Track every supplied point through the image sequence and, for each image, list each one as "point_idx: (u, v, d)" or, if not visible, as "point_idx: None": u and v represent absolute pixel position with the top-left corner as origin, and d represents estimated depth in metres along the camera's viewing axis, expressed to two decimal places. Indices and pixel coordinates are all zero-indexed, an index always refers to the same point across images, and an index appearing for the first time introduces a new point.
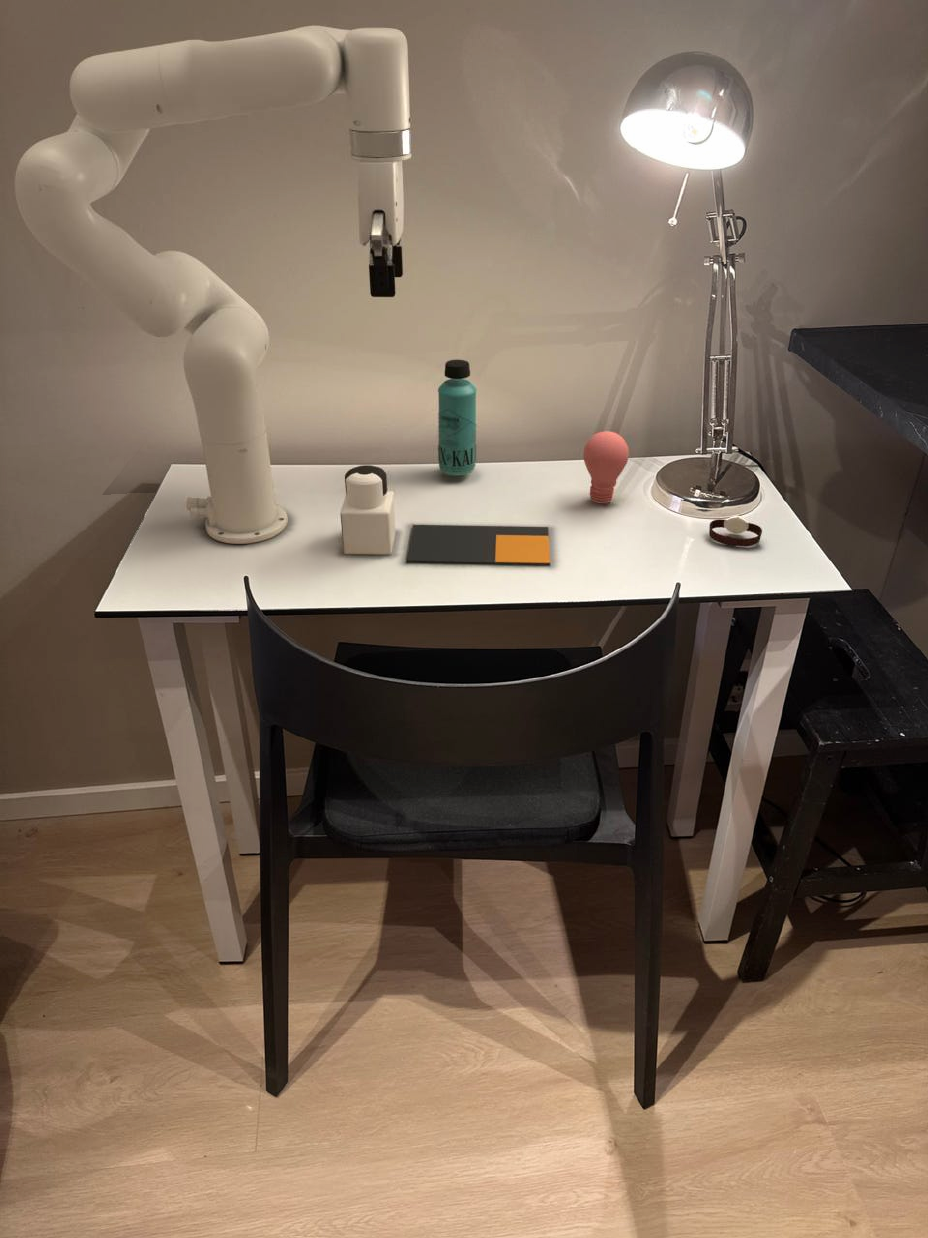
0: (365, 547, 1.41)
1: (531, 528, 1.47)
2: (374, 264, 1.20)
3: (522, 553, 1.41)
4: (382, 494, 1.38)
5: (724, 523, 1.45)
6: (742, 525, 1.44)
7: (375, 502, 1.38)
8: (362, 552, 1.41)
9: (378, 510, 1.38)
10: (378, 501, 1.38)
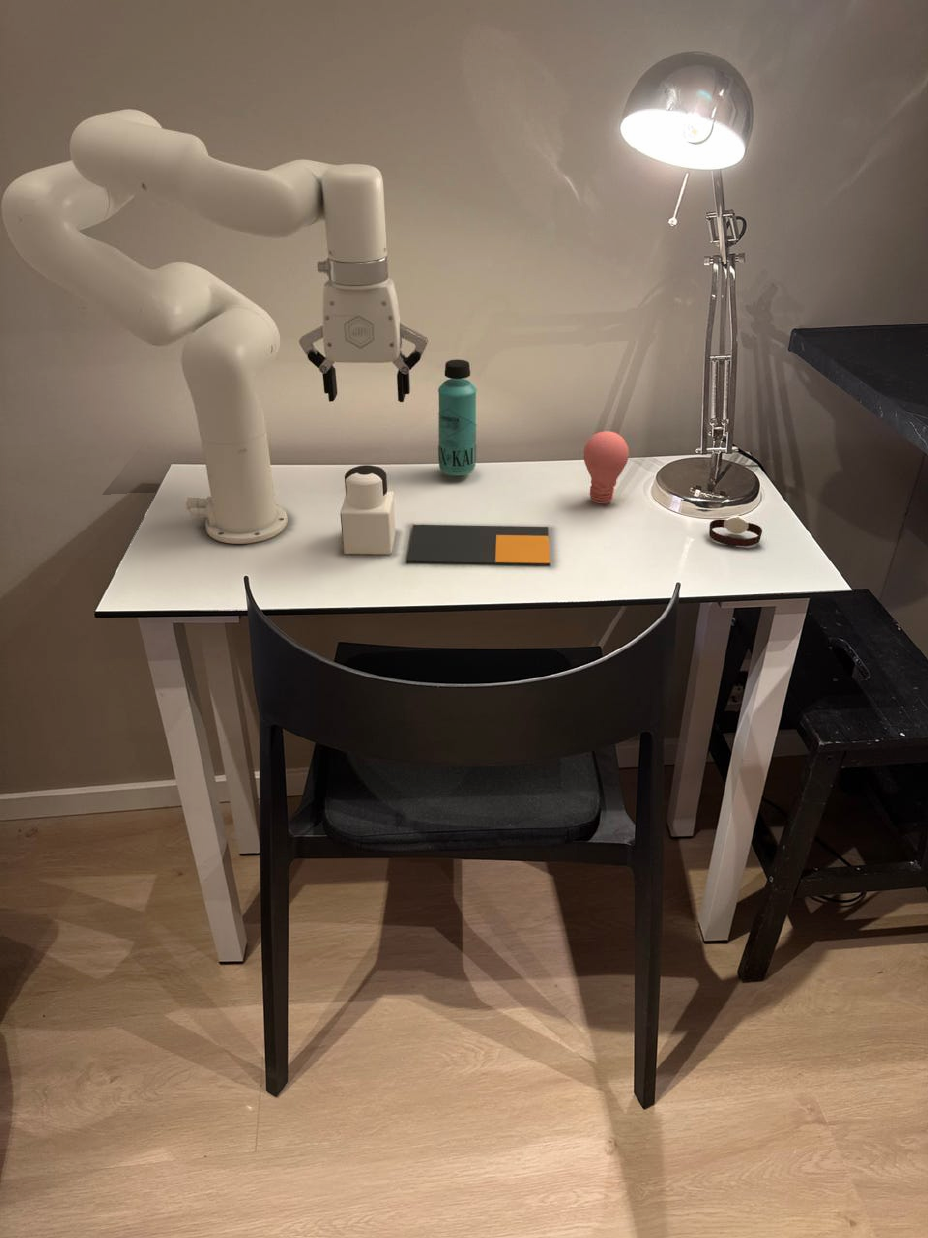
0: (365, 547, 1.41)
1: (531, 528, 1.47)
2: (409, 370, 1.29)
3: (522, 553, 1.41)
4: (382, 494, 1.38)
5: (724, 523, 1.45)
6: (742, 525, 1.44)
7: (375, 502, 1.38)
8: (362, 552, 1.41)
9: (378, 510, 1.38)
10: (378, 501, 1.38)
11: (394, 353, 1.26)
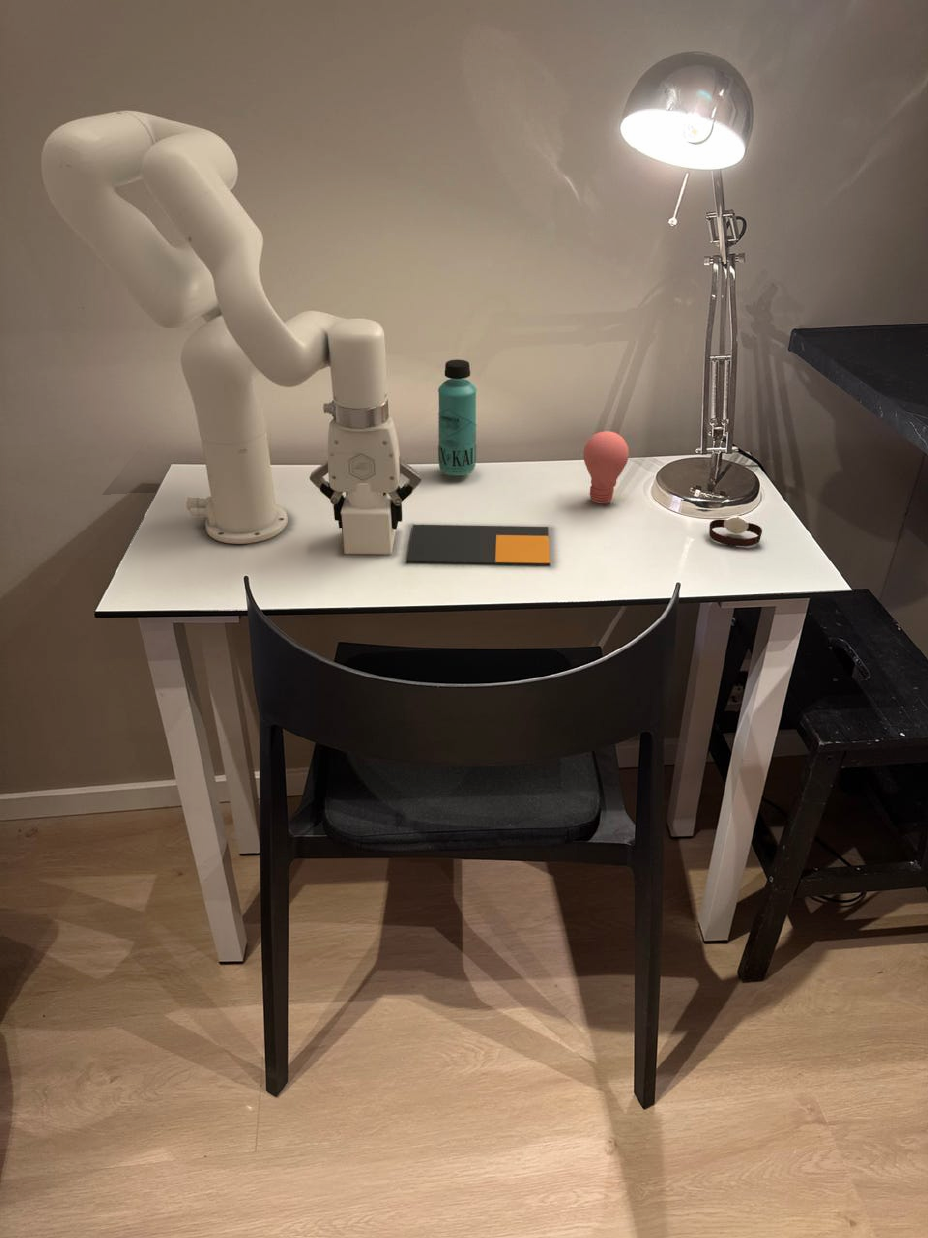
0: (366, 547, 1.41)
1: (531, 528, 1.47)
2: (402, 501, 1.39)
3: (522, 553, 1.41)
4: (382, 493, 1.38)
5: (724, 523, 1.45)
6: (742, 525, 1.44)
7: (375, 502, 1.38)
8: (362, 552, 1.41)
9: (379, 510, 1.38)
10: (378, 501, 1.38)
11: (394, 485, 1.36)
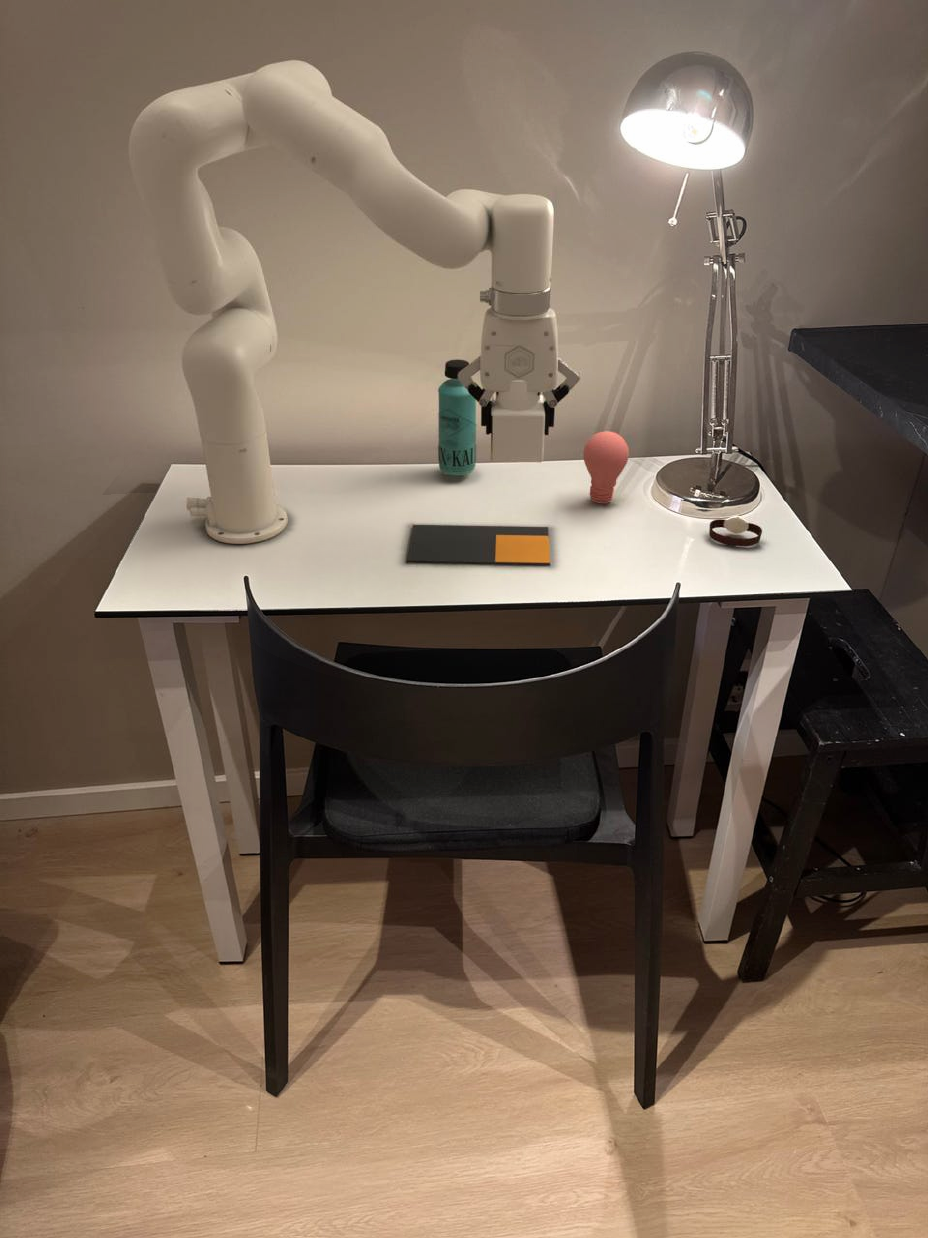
0: (516, 453, 1.30)
1: (531, 528, 1.47)
2: None
3: (522, 553, 1.41)
4: (537, 393, 1.27)
5: (724, 523, 1.45)
6: (742, 525, 1.44)
7: (530, 402, 1.27)
8: (511, 459, 1.30)
9: (533, 412, 1.27)
10: (533, 401, 1.27)
11: (552, 383, 1.25)
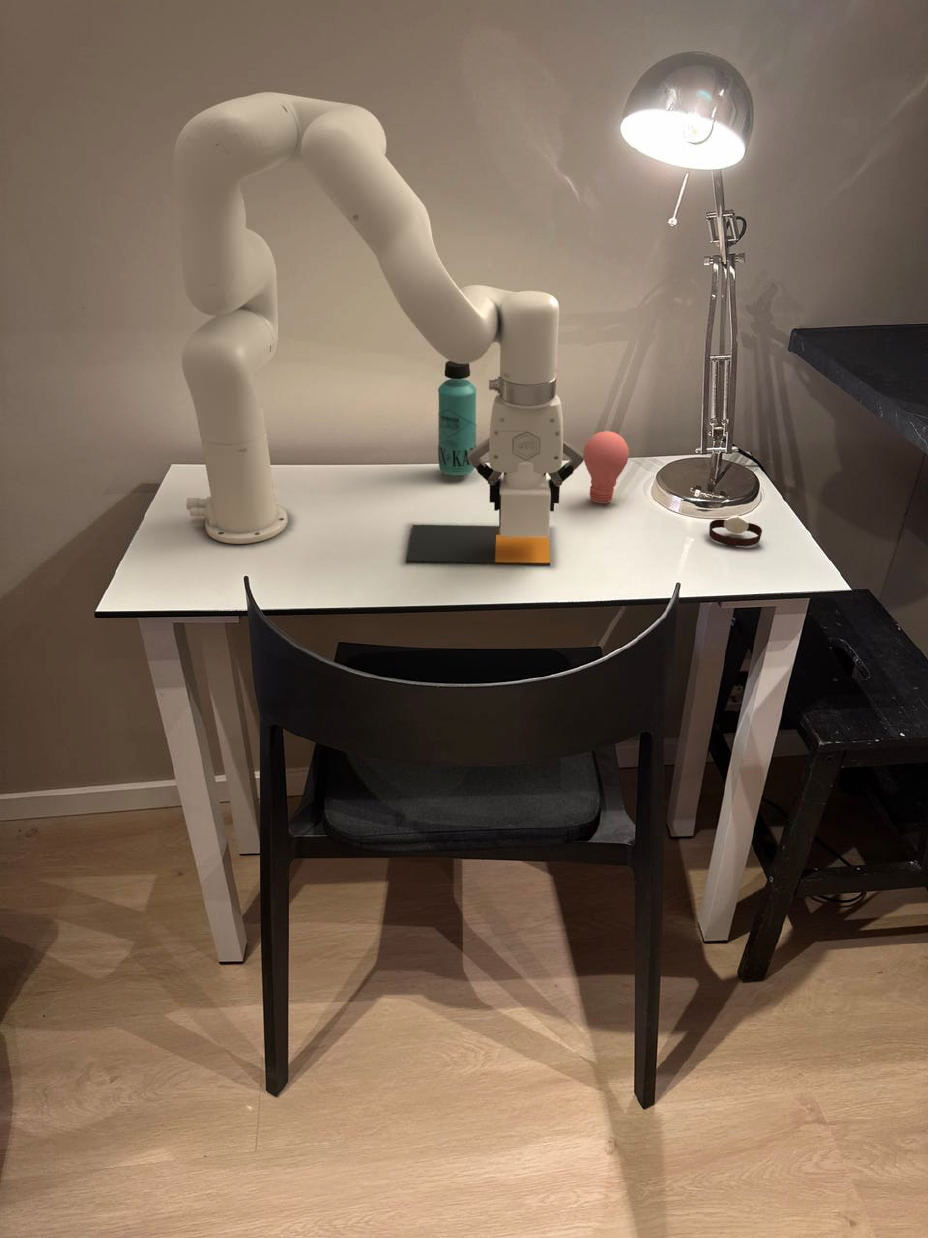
0: (523, 529, 1.36)
1: None
2: None
3: (522, 553, 1.41)
4: (543, 474, 1.33)
5: (724, 523, 1.45)
6: (742, 525, 1.44)
7: (536, 482, 1.33)
8: (518, 535, 1.37)
9: (539, 491, 1.33)
10: (539, 481, 1.33)
11: (557, 465, 1.31)
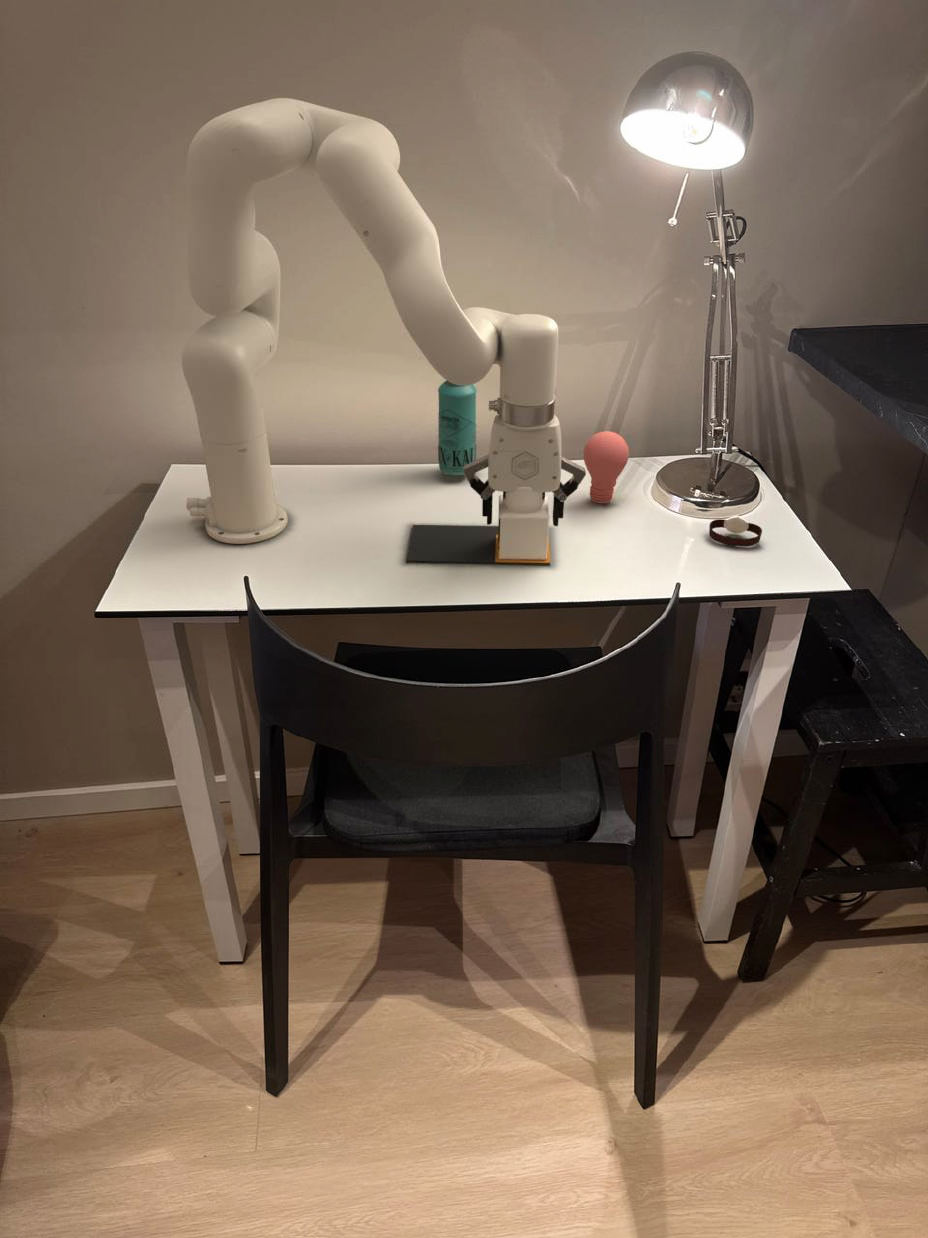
0: (521, 552, 1.38)
1: None
2: None
3: None
4: (541, 498, 1.35)
5: (724, 523, 1.45)
6: (742, 525, 1.44)
7: (535, 506, 1.35)
8: (517, 557, 1.39)
9: (538, 515, 1.35)
10: (537, 505, 1.35)
11: (556, 484, 1.33)
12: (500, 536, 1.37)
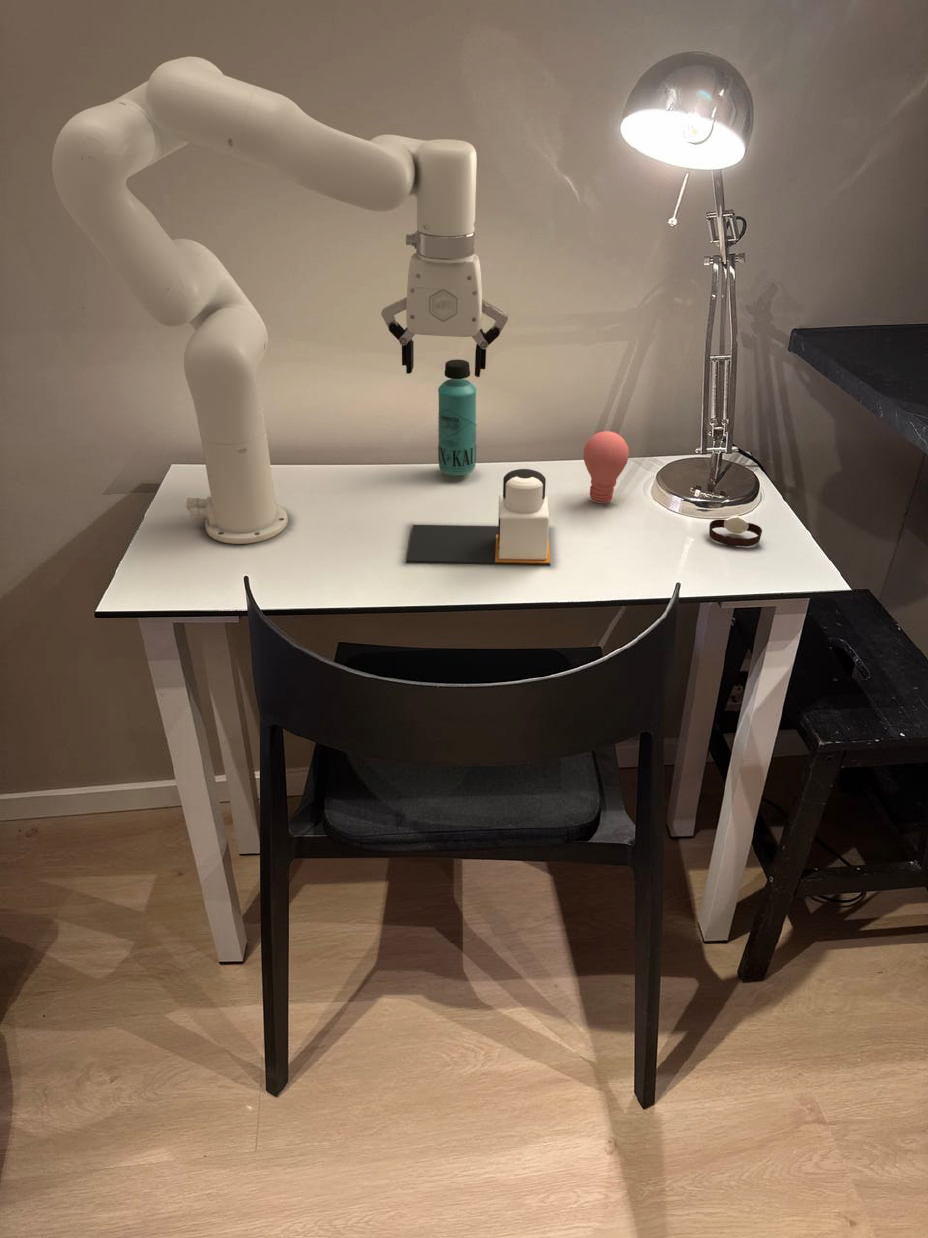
0: (521, 552, 1.38)
1: None
2: None
3: None
4: (541, 498, 1.35)
5: (724, 523, 1.45)
6: (742, 525, 1.44)
7: (535, 506, 1.35)
8: (517, 557, 1.39)
9: (538, 515, 1.35)
10: (537, 505, 1.35)
11: (475, 328, 1.28)
12: (500, 536, 1.37)
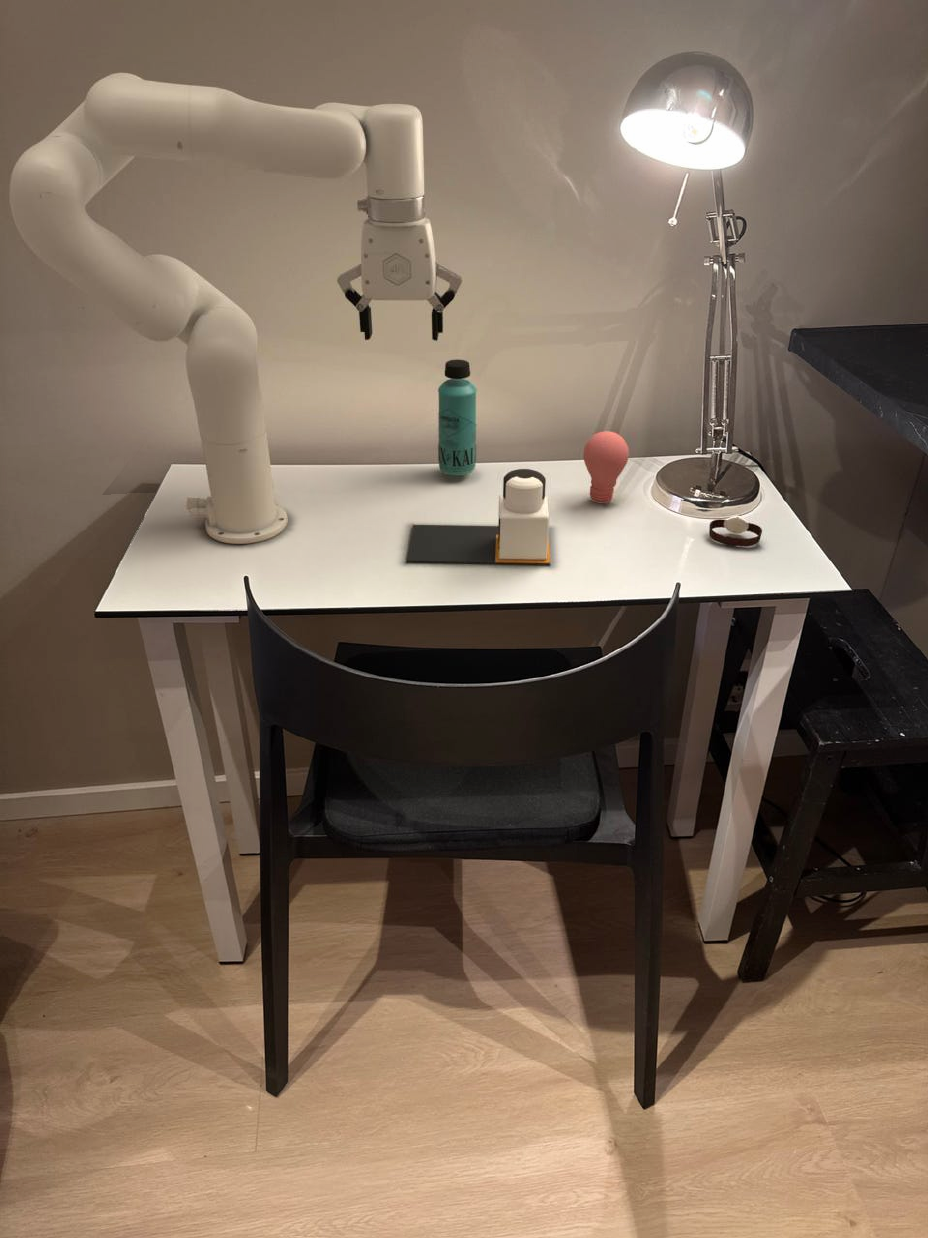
0: (521, 552, 1.38)
1: None
2: (443, 308, 1.33)
3: None
4: (541, 498, 1.35)
5: (724, 523, 1.45)
6: (742, 525, 1.44)
7: (535, 506, 1.35)
8: (517, 557, 1.39)
9: (538, 515, 1.35)
10: (537, 505, 1.35)
11: (430, 291, 1.30)
12: (500, 536, 1.37)
